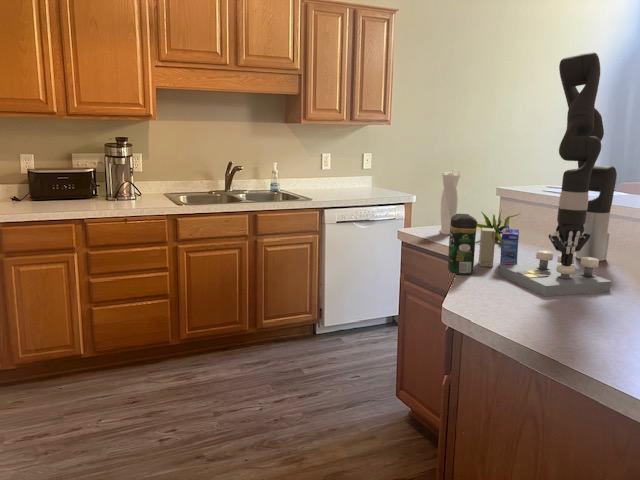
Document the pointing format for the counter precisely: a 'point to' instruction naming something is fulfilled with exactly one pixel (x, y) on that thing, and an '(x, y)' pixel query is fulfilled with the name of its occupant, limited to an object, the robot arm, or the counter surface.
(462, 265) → the coffee jar
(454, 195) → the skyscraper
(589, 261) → the button
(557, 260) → the button
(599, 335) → the counter surface
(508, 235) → the ink cartridge box
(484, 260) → the skincare box
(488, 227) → the decorative plant
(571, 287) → the board
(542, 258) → the button
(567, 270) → the button
